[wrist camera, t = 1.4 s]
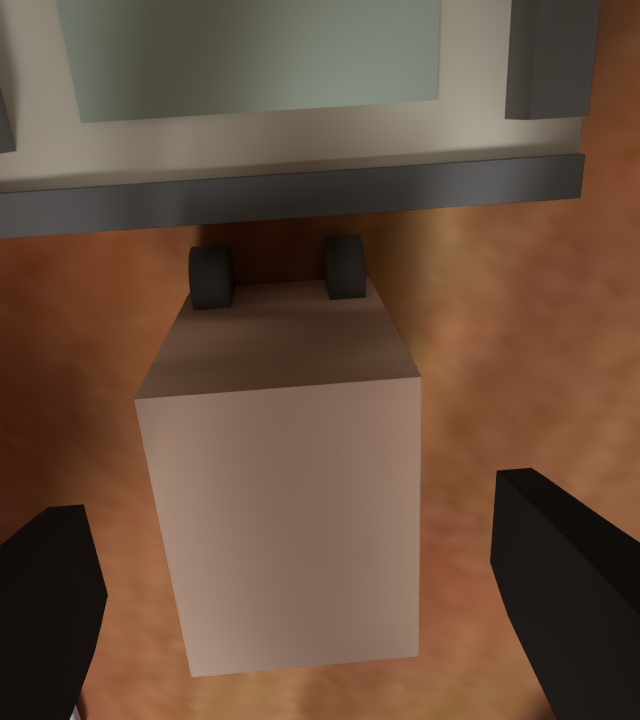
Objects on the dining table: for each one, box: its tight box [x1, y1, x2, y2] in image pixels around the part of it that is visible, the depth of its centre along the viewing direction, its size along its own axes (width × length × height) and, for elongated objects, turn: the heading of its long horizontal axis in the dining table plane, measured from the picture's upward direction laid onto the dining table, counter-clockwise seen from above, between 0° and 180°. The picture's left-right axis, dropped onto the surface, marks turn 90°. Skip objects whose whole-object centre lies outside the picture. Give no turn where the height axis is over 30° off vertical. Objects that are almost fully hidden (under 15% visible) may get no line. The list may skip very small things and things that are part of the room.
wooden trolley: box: [134, 235, 421, 677], centre depth 13 cm, size 4×8×6 cm, turn 3°
